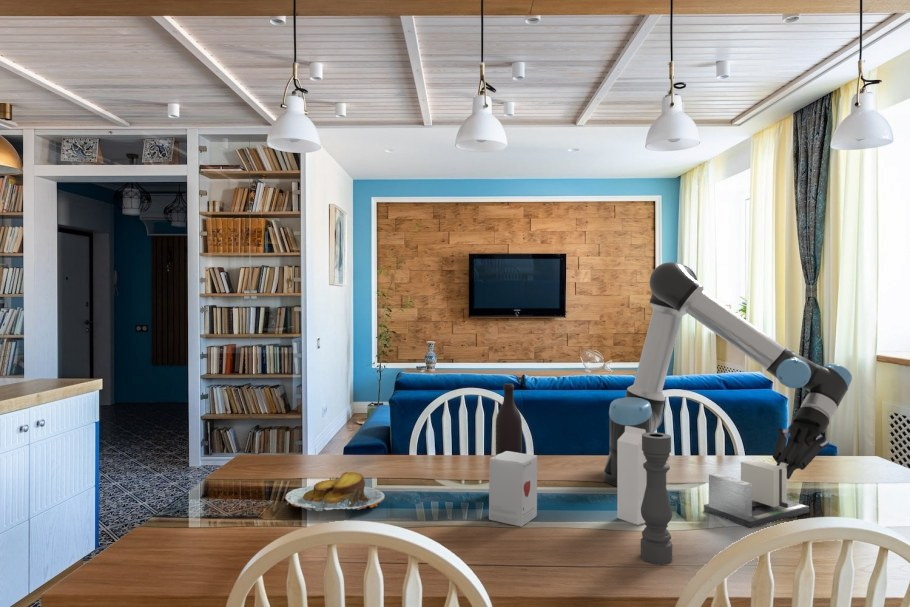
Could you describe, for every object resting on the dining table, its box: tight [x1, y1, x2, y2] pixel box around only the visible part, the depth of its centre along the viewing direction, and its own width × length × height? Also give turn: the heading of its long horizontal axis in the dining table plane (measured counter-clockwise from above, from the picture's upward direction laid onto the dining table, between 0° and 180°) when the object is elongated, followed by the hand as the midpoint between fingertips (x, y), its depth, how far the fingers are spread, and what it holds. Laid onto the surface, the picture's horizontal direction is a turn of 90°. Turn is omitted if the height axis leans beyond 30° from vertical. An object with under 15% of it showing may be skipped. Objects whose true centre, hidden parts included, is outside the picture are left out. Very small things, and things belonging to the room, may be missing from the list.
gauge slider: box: [740, 459, 788, 508], centre depth 152 cm, size 5×11×9 cm, turn 28°
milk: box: [616, 426, 647, 526], centre depth 147 cm, size 6×6×22 cm
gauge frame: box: [703, 472, 810, 529], centre depth 152 cm, size 22×13×10 cm, turn 118°
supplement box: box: [488, 451, 538, 528], centre depth 147 cm, size 9×9×15 cm
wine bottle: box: [495, 383, 523, 456], centre depth 165 cm, size 7×7×30 cm
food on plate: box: [284, 471, 386, 512], centre depth 159 cm, size 25×25×7 cm
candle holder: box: [640, 431, 673, 566], centre depth 124 cm, size 6×6×25 cm
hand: (774, 486), depth 154 cm, fingers closed
